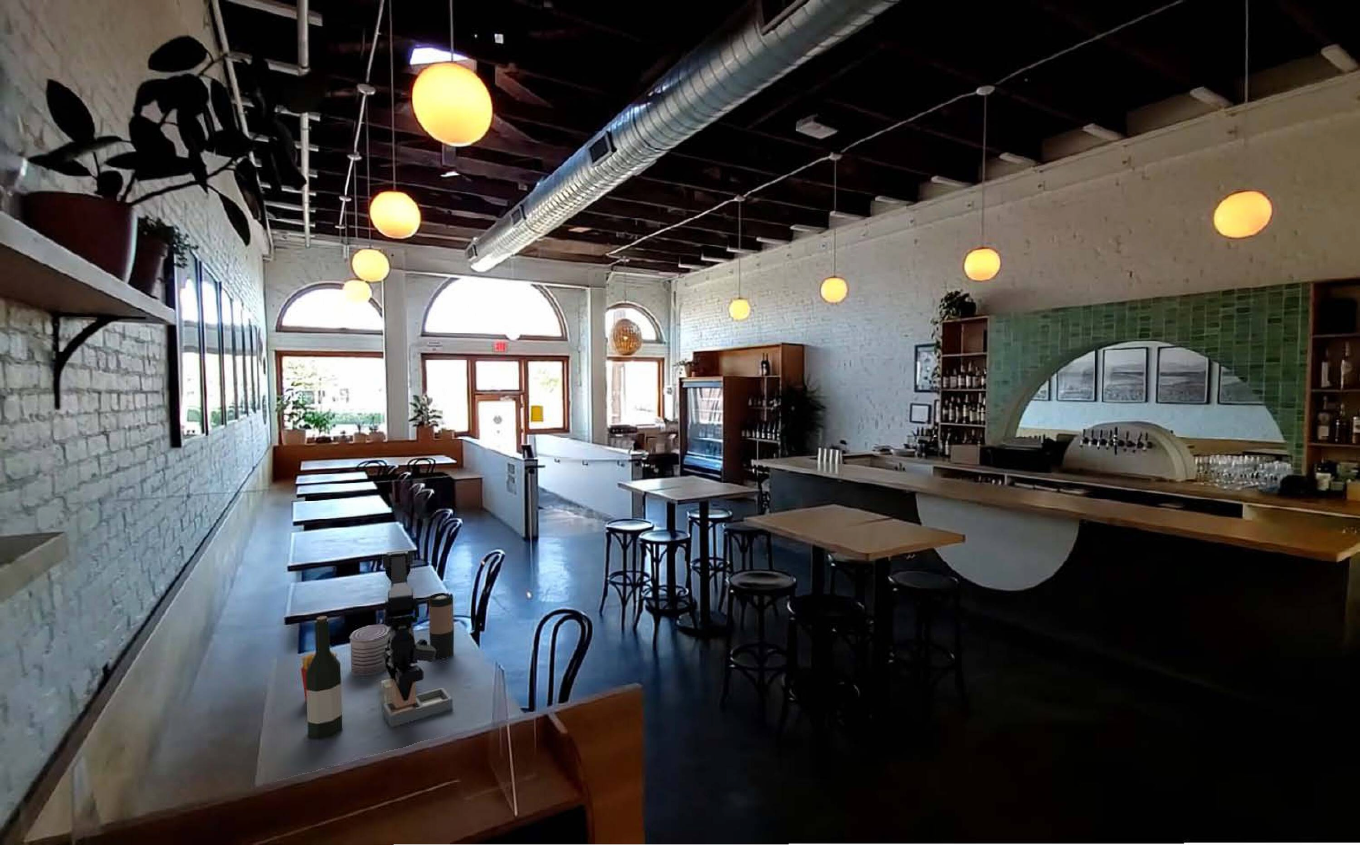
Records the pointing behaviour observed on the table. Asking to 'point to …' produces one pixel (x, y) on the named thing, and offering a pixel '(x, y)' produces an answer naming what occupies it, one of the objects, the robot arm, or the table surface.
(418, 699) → the pocket frame
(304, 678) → the french fries
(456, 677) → the table surface
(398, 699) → the terracotta block
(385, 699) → the ivory block
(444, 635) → the travel mug
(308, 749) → the table surface
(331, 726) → the wine bottle
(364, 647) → the can
